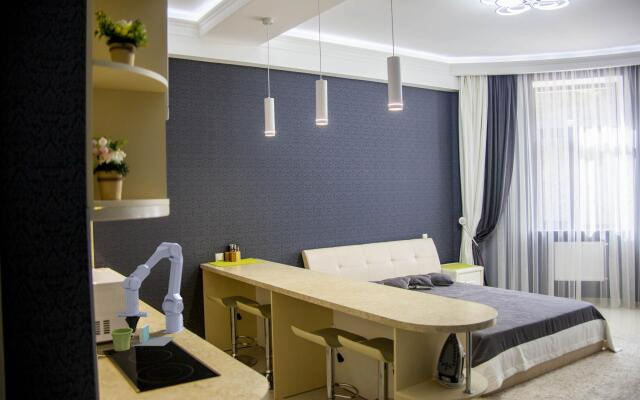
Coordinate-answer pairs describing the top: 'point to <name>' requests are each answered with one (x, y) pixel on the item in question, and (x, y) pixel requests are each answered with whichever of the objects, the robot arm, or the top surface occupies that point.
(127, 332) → the plant pot
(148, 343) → the mat
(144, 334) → the tile
